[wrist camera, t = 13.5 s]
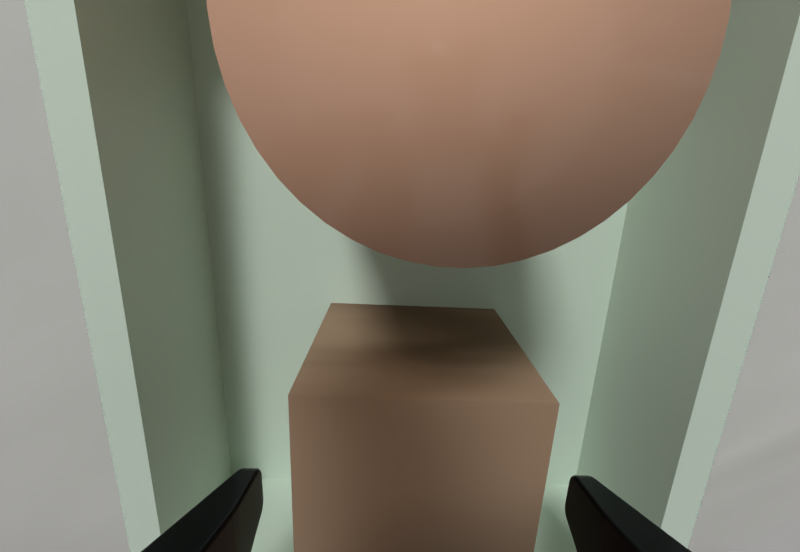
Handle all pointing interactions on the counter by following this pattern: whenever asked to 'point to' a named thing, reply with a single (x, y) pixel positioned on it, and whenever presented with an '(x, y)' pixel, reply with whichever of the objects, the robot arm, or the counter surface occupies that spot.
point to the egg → (466, 112)
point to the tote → (395, 273)
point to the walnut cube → (418, 433)
